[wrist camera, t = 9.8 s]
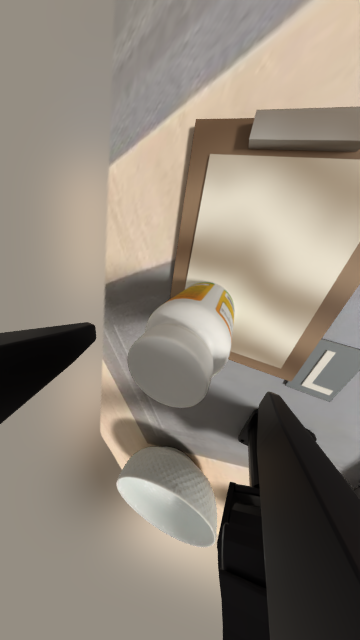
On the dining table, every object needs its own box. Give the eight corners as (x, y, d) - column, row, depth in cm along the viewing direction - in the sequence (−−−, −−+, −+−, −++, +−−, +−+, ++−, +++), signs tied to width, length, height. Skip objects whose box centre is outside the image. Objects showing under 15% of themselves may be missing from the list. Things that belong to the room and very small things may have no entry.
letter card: (328, 400, 15) (330, 402, 15) (284, 384, 16) (285, 386, 16) (372, 353, 13) (375, 355, 12) (316, 337, 14) (318, 338, 13)
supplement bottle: (172, 315, 17) (105, 376, 8) (195, 269, 14) (130, 293, 6) (215, 342, 16) (187, 436, 8) (247, 300, 14) (258, 375, 5)
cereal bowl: (185, 493, 34) (173, 547, 28) (128, 444, 34) (104, 485, 28) (243, 482, 25) (243, 556, 19) (164, 416, 26) (141, 466, 20)
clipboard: (289, 377, 16) (294, 389, 14) (166, 334, 19) (160, 340, 18) (462, 123, 8) (511, 94, 6) (198, 125, 11) (191, 107, 10)
